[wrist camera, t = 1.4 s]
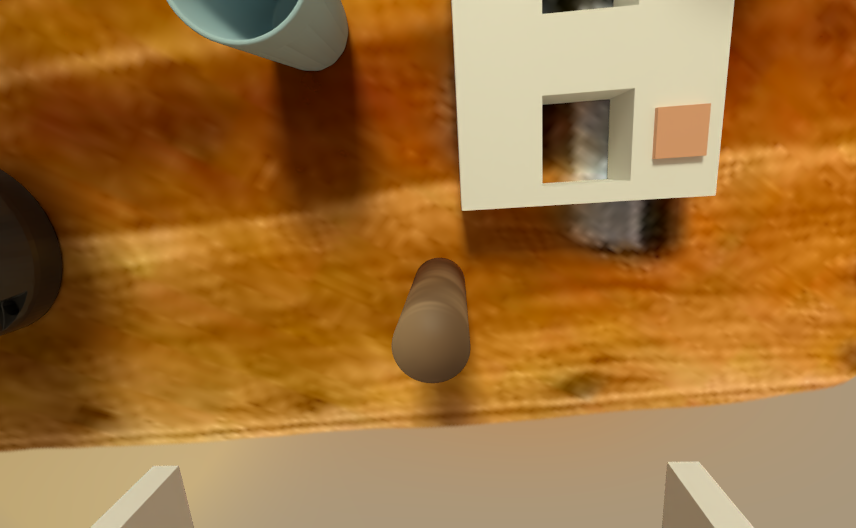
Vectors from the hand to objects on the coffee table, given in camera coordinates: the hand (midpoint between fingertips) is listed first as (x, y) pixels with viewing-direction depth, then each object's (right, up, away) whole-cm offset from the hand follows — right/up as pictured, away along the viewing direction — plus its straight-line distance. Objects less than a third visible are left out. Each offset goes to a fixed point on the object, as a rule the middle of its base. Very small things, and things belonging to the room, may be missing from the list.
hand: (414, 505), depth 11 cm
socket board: (+10, +20, +17) cm, 28 cm away
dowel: (+1, +5, +21) cm, 22 cm away
